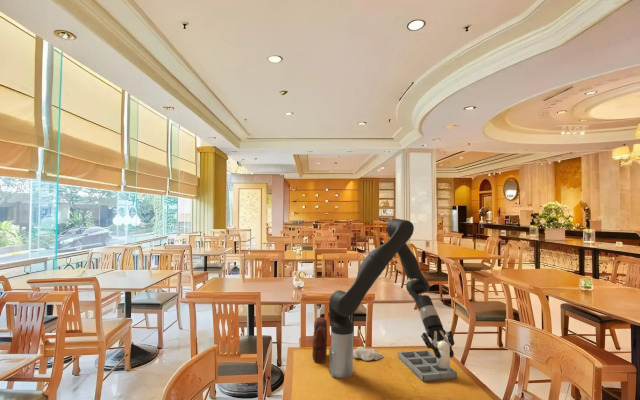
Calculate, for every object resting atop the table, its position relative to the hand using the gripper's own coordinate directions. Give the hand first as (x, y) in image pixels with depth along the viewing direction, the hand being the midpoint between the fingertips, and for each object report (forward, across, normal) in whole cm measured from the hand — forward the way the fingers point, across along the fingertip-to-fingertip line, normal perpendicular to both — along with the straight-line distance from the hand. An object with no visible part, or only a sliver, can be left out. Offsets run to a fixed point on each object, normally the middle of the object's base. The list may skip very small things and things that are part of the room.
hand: (445, 357), depth 137 cm
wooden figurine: (-13, -47, +24) cm, 55 cm away
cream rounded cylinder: (+2, 0, +4) cm, 5 cm away
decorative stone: (-11, -25, +23) cm, 36 cm away
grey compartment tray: (-1, -4, +12) cm, 13 cm away
